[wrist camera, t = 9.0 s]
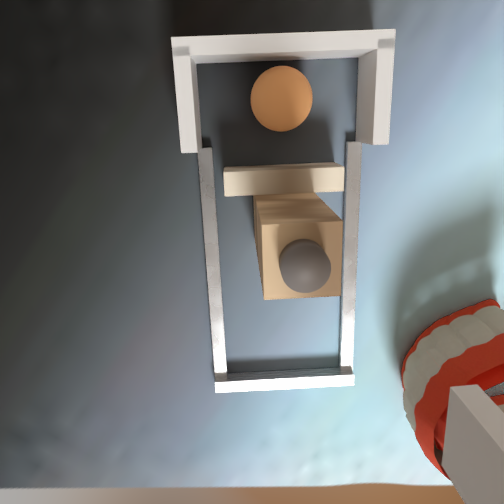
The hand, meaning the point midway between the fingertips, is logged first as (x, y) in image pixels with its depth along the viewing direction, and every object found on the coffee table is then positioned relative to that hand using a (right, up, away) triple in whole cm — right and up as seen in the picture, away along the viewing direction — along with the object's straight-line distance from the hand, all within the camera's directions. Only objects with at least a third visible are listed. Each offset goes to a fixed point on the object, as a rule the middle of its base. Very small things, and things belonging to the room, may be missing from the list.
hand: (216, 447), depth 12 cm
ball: (+3, +15, +16) cm, 22 cm away
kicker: (+3, +8, +20) cm, 22 cm away
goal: (+3, +16, +17) cm, 24 cm away
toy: (+18, -5, +25) cm, 31 cm away
